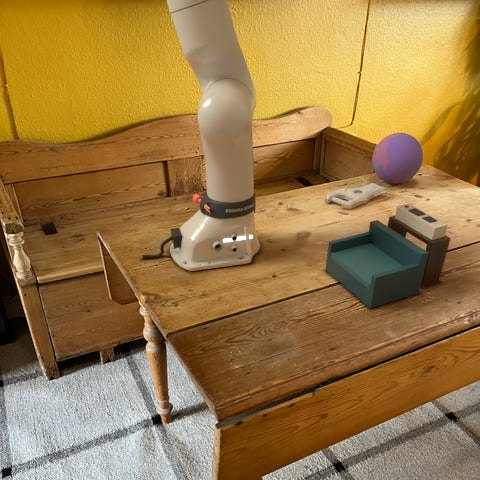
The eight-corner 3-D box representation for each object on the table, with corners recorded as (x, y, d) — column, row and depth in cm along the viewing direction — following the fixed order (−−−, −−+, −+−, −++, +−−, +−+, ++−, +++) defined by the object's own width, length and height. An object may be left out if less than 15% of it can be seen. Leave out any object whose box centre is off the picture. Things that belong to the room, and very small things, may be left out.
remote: (431, 240, 104) (435, 227, 103) (394, 217, 113) (397, 205, 111) (444, 236, 106) (448, 223, 104) (406, 214, 114) (409, 202, 112)
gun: (364, 175, 153) (390, 186, 147) (363, 186, 155) (388, 196, 149) (321, 193, 145) (346, 204, 139) (321, 203, 147) (345, 216, 141)
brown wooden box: (421, 287, 110) (432, 243, 103) (381, 258, 120) (389, 216, 113) (438, 282, 112) (450, 238, 105) (397, 254, 122) (406, 212, 115)
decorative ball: (367, 172, 166) (374, 125, 156) (414, 174, 164) (424, 127, 155) (370, 189, 154) (377, 140, 145) (420, 192, 152) (431, 142, 143)
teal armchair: (370, 308, 104) (377, 267, 98) (325, 270, 116) (329, 231, 110) (418, 293, 108) (429, 252, 102) (370, 257, 121) (377, 219, 114)
